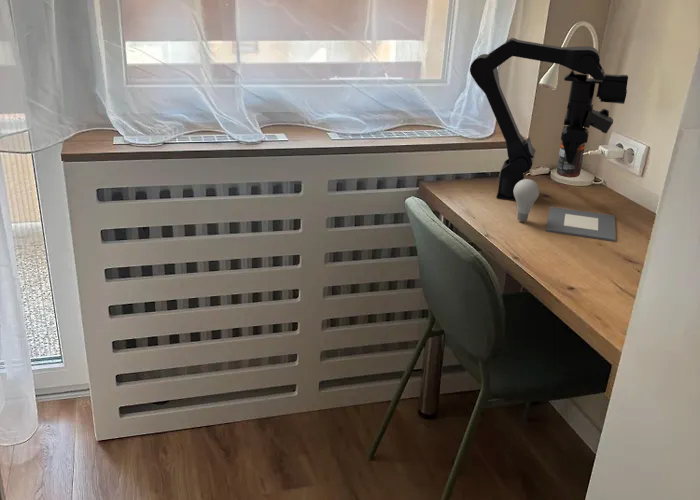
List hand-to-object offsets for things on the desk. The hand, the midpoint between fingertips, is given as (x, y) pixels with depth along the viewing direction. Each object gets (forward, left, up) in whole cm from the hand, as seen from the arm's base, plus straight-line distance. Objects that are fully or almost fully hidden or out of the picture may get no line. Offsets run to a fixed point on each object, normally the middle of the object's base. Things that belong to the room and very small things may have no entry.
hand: (570, 159), depth 178 cm
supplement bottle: (0, 0, -4) cm, 4 cm away
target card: (+5, -13, -12) cm, 18 cm away
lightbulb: (-9, -17, -12) cm, 23 cm away
